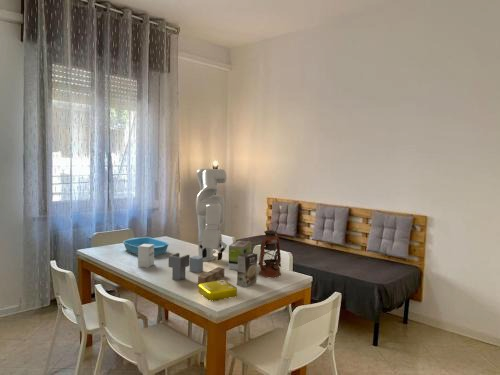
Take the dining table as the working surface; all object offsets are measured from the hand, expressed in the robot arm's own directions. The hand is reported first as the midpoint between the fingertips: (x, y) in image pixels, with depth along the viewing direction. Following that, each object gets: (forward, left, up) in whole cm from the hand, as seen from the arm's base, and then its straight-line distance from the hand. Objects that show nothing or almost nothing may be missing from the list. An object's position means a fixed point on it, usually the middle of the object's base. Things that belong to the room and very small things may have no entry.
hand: (212, 258), depth 199 cm
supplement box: (-3, -49, -13) cm, 51 cm away
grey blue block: (-10, -17, -12) cm, 24 cm away
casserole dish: (-28, -72, -13) cm, 79 cm away
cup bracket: (+6, -17, -12) cm, 22 cm away
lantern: (-27, +23, -13) cm, 38 cm away
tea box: (-31, +1, -13) cm, 34 cm away
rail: (0, 0, -13) cm, 13 cm away
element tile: (+14, +13, -13) cm, 23 cm away
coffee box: (-5, +19, -13) cm, 23 cm away
